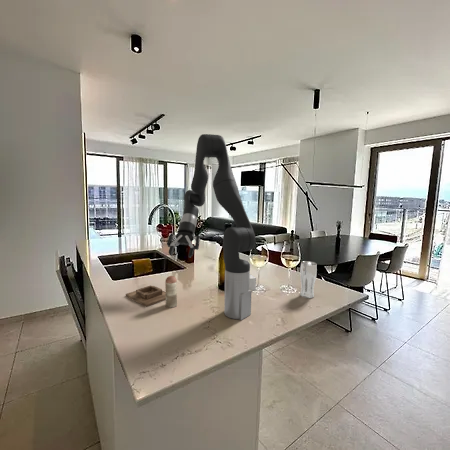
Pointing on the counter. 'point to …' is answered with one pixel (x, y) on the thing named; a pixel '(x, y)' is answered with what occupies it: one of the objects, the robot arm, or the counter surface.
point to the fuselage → (171, 291)
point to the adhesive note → (252, 283)
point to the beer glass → (308, 278)
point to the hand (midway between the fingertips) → (180, 255)
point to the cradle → (147, 295)
